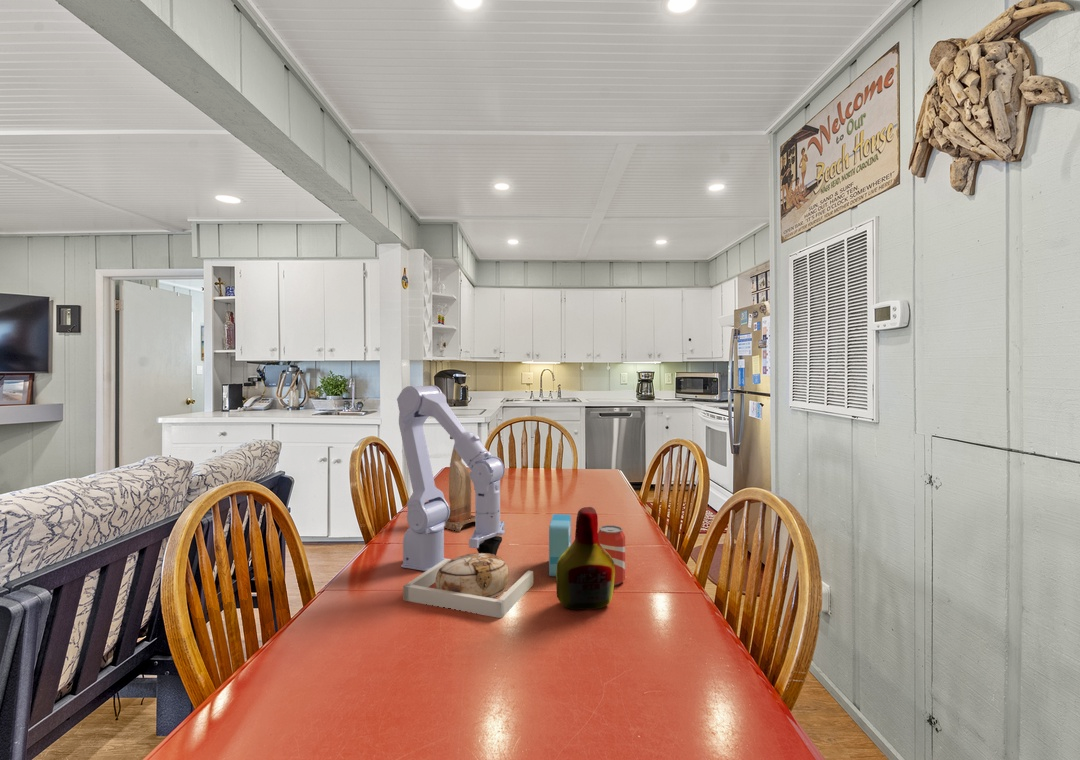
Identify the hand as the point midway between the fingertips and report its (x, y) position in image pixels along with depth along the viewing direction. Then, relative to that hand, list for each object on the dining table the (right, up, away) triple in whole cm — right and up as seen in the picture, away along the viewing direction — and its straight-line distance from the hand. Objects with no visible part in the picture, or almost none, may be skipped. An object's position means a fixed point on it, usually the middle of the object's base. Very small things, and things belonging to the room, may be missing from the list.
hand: (487, 569), depth 120 cm
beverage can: (+28, -2, -2) cm, 28 cm away
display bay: (-3, -2, -8) cm, 9 cm away
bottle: (+21, -2, -14) cm, 26 cm away
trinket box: (-2, -2, -8) cm, 9 cm away
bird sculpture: (-12, -2, +41) cm, 43 cm away
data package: (+17, -2, +5) cm, 18 cm away
